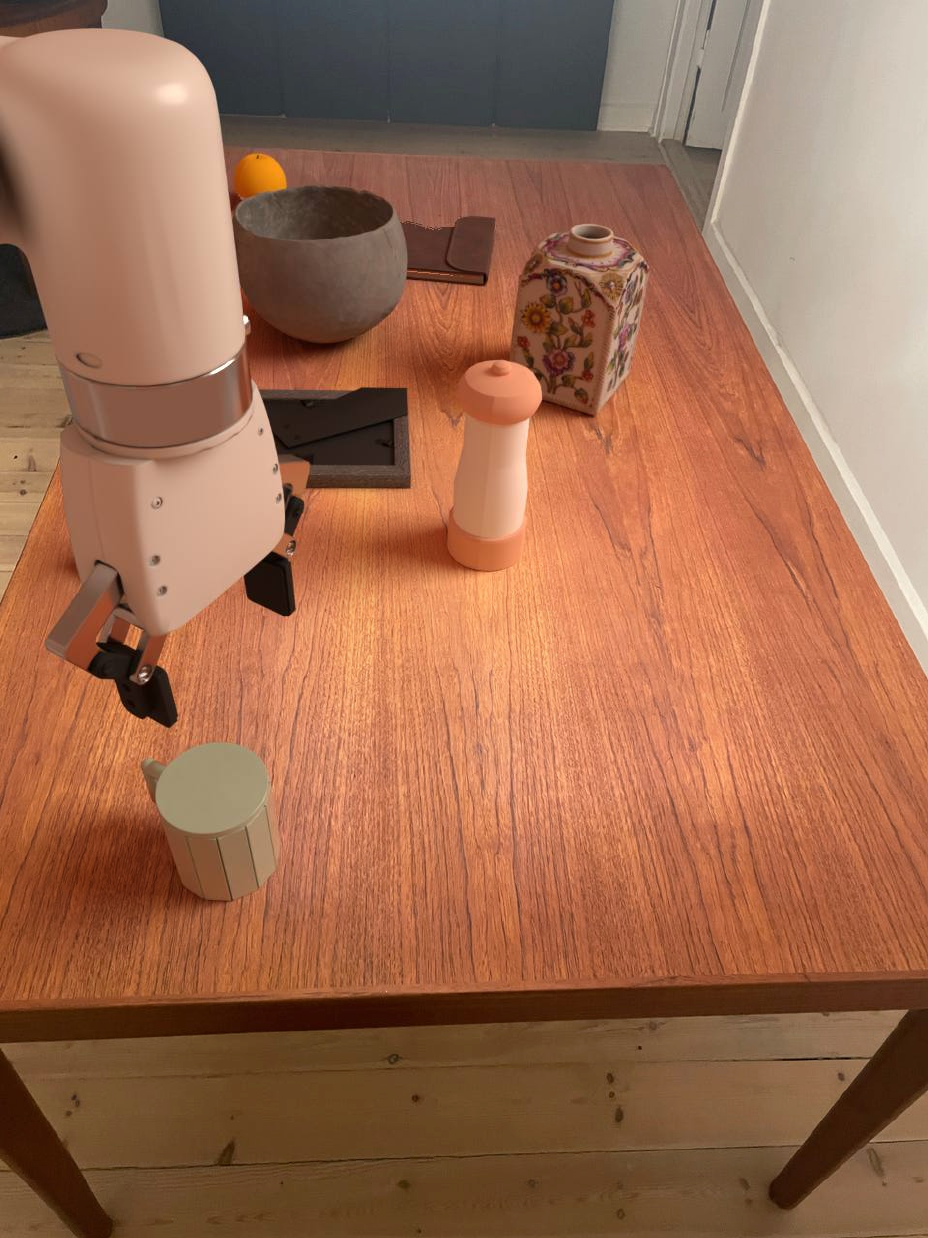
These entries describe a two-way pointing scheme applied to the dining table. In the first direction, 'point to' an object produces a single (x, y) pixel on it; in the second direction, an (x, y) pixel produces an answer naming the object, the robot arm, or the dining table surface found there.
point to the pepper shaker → (492, 465)
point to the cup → (217, 818)
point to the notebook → (451, 251)
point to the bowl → (320, 260)
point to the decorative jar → (579, 315)
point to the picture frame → (344, 434)
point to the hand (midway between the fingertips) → (215, 656)
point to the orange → (258, 175)
